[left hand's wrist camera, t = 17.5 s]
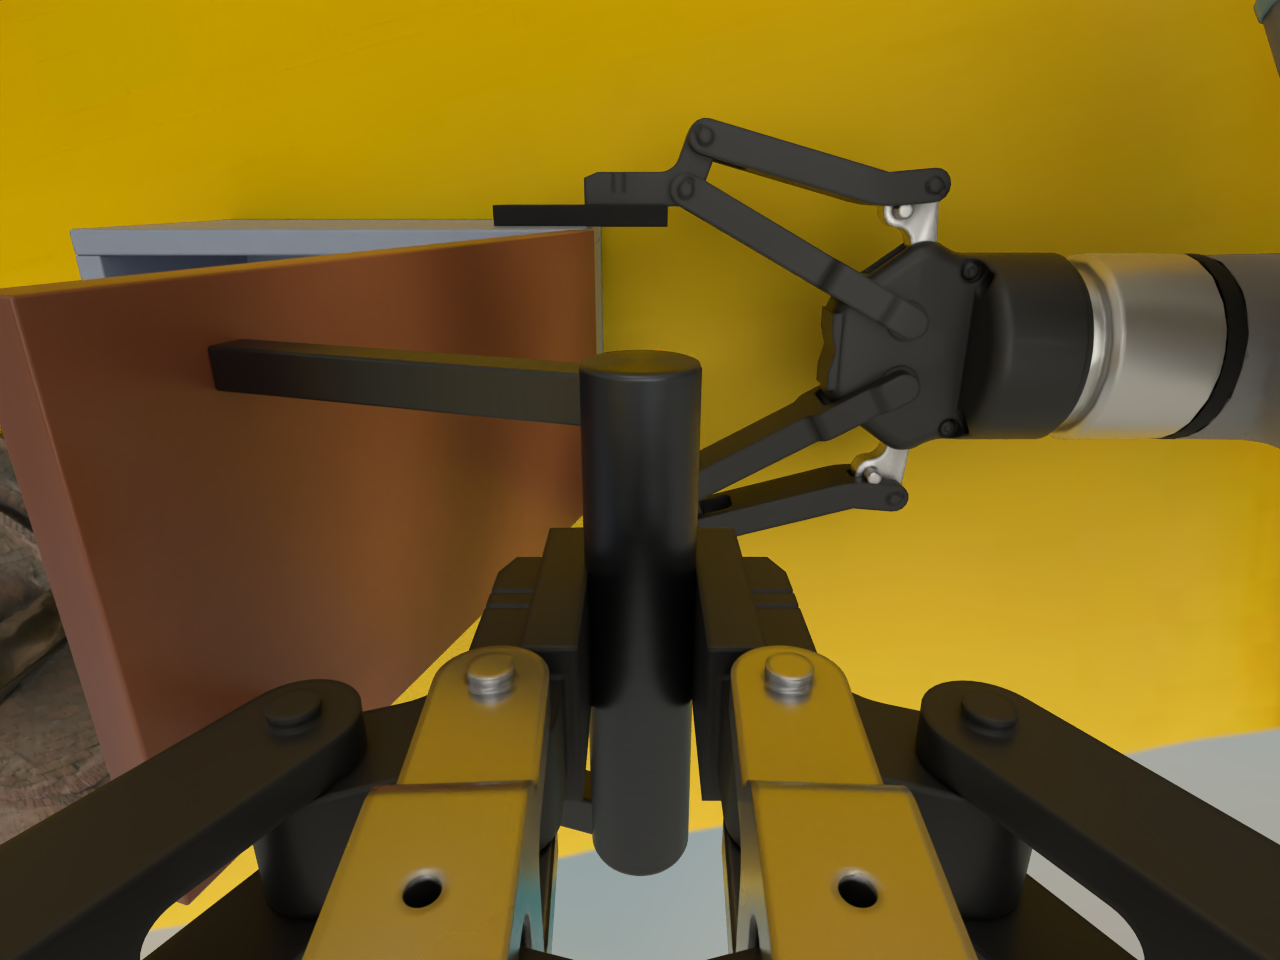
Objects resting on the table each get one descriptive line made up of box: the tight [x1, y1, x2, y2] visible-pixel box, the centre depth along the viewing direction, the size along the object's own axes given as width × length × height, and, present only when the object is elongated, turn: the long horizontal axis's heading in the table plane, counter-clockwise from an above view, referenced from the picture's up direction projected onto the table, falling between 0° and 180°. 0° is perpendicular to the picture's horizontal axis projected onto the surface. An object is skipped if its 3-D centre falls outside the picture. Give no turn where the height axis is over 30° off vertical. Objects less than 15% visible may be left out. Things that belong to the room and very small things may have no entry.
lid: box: [0, 230, 702, 905], centre depth 18 cm, size 18×10×8 cm
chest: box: [70, 219, 603, 354], centre depth 32 cm, size 18×10×11 cm, turn 90°
